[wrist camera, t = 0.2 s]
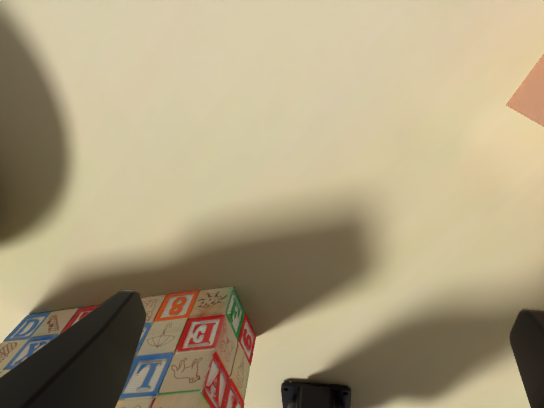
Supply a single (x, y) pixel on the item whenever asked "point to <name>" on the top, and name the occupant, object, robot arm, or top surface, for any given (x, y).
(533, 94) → the pillar
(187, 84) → the top surface
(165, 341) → the stack of blocks
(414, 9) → the top surface
